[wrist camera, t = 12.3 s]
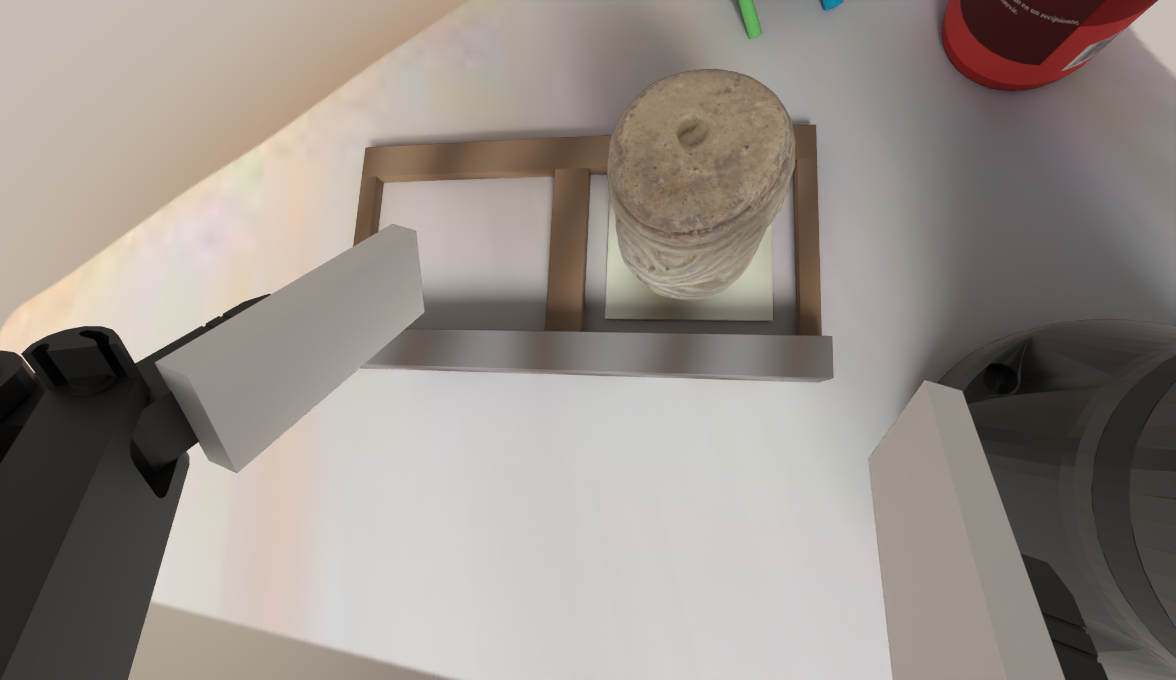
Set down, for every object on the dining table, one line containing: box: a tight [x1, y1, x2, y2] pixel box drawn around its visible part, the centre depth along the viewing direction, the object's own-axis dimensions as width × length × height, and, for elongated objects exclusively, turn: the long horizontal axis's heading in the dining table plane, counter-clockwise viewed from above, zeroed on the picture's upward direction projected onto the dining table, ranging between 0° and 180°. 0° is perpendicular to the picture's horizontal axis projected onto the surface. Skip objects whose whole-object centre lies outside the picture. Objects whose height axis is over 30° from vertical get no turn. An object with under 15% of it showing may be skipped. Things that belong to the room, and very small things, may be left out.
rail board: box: [353, 125, 833, 382], centre depth 28 cm, size 27×14×2 cm, turn 88°
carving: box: [608, 69, 796, 301], centre depth 22 cm, size 6×8×12 cm
